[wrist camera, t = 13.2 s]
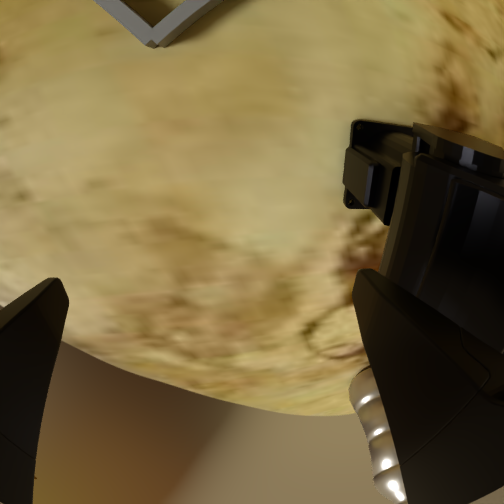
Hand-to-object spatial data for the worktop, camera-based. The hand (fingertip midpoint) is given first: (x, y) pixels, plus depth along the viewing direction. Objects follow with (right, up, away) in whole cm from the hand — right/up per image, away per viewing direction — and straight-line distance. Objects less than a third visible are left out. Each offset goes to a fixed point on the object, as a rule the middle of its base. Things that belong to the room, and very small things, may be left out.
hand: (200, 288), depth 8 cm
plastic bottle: (+16, -14, +26) cm, 34 cm away
